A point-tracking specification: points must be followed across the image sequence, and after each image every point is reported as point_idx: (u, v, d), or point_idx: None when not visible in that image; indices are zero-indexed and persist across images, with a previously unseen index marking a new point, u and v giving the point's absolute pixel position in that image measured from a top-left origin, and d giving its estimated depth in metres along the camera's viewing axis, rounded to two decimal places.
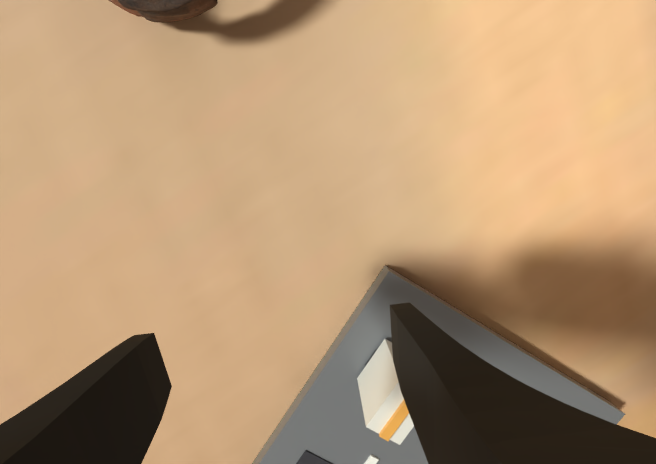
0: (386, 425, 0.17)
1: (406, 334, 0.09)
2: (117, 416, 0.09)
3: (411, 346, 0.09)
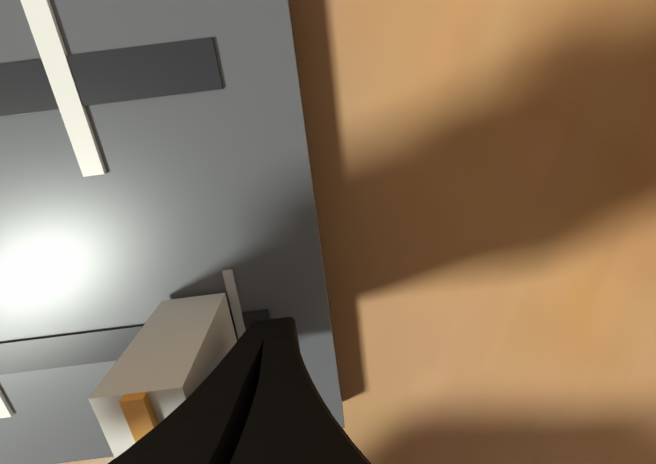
0: None
1: None
2: None
3: None
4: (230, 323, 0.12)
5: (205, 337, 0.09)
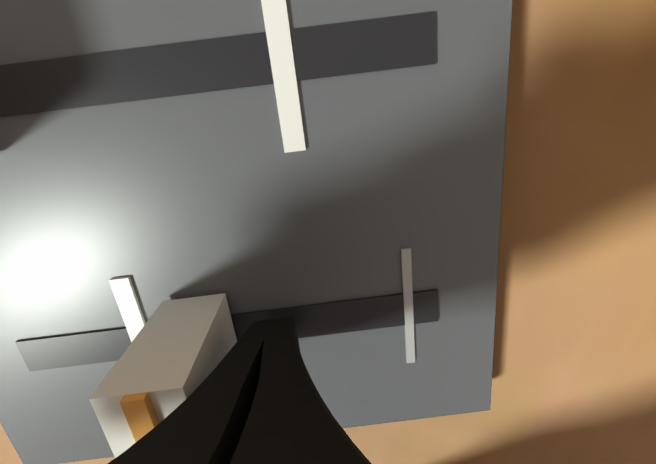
0: None
1: None
2: None
3: None
4: (230, 323, 0.12)
5: (205, 338, 0.09)
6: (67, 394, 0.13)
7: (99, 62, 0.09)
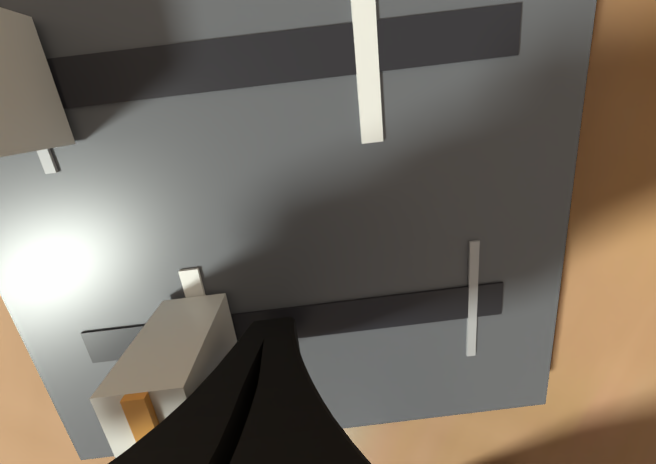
0: None
1: None
2: None
3: None
4: (230, 323, 0.12)
5: (205, 338, 0.09)
6: None
7: (185, 51, 0.09)
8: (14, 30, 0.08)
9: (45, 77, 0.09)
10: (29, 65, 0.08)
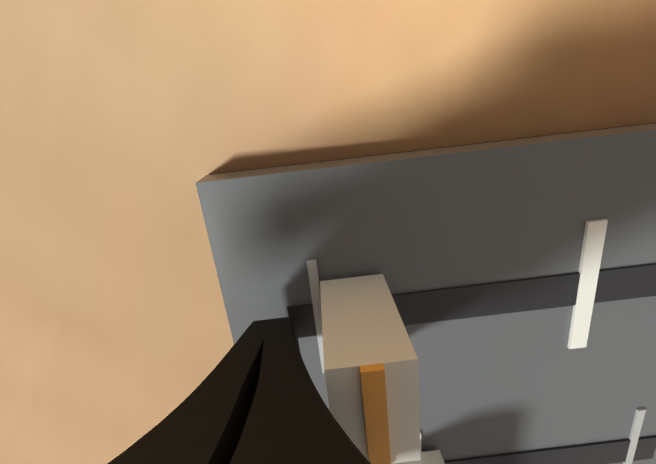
0: (369, 448, 0.08)
1: None
2: None
3: None
4: None
5: None
6: None
7: (450, 294, 0.12)
8: None
9: None
10: None
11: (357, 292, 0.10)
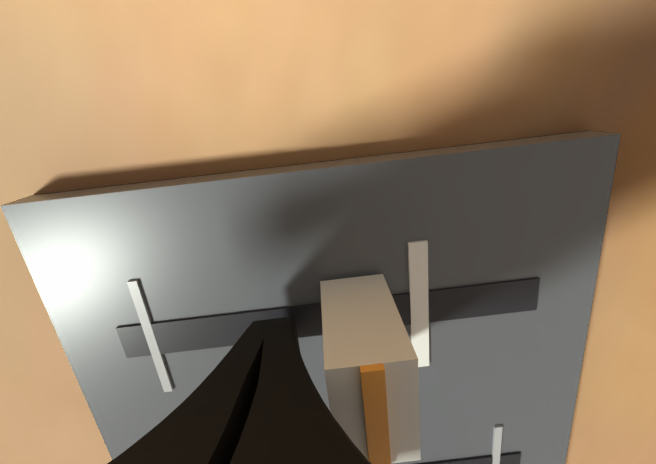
0: (369, 447, 0.08)
1: None
2: None
3: None
4: None
5: None
6: None
7: (280, 314, 0.12)
8: None
9: None
10: None
11: (357, 292, 0.10)
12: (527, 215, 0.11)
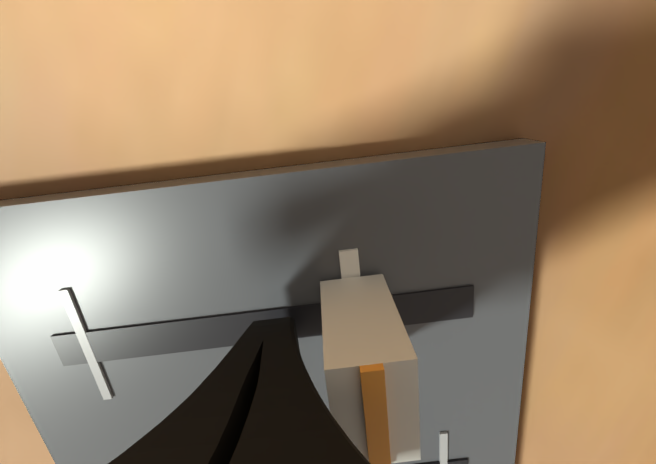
0: (369, 448, 0.08)
1: None
2: None
3: None
4: None
5: None
6: None
7: (215, 322, 0.12)
8: None
9: None
10: None
11: (357, 292, 0.10)
12: (457, 223, 0.11)
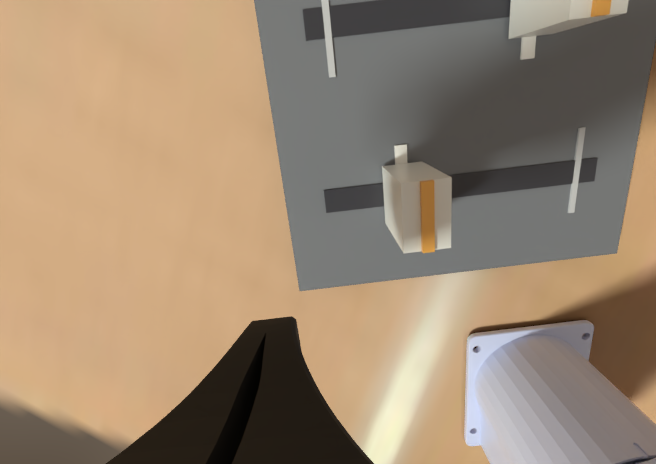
0: None
1: None
2: None
3: None
4: None
5: (437, 170, 0.16)
6: (343, 232, 0.19)
7: (427, 0, 0.15)
8: None
9: None
10: None
11: None
12: None
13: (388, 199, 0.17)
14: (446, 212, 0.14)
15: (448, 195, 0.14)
